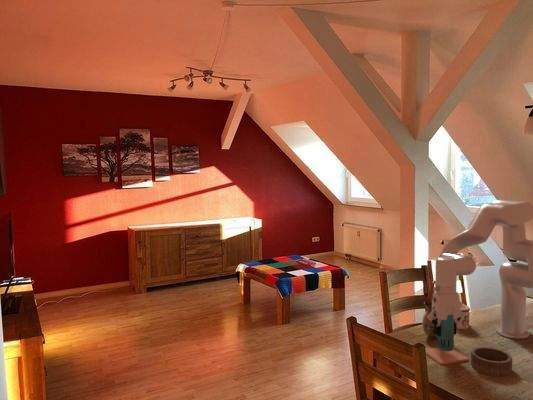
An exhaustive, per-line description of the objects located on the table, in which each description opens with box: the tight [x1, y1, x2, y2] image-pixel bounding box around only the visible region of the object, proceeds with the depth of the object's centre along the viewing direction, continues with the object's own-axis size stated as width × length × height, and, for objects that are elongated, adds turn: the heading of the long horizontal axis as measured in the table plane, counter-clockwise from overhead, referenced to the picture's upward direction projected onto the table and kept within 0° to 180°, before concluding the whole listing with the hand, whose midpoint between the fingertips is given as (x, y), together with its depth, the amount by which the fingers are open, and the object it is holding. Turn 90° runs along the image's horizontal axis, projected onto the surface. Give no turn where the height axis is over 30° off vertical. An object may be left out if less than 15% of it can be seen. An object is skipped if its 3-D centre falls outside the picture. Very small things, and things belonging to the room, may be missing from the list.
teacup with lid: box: [457, 300, 471, 330], centre depth 200 cm, size 12×9×12 cm
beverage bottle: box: [435, 314, 455, 351], centre depth 168 cm, size 6×7×20 cm
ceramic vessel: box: [421, 280, 437, 340], centre depth 186 cm, size 16×9×25 cm, turn 138°
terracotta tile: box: [425, 347, 469, 366], centre depth 169 cm, size 12×12×1 cm
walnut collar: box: [470, 346, 513, 378], centre depth 158 cm, size 13×13×5 cm
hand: (445, 333), depth 168 cm, fingers closed on beverage bottle, 6 cm apart
